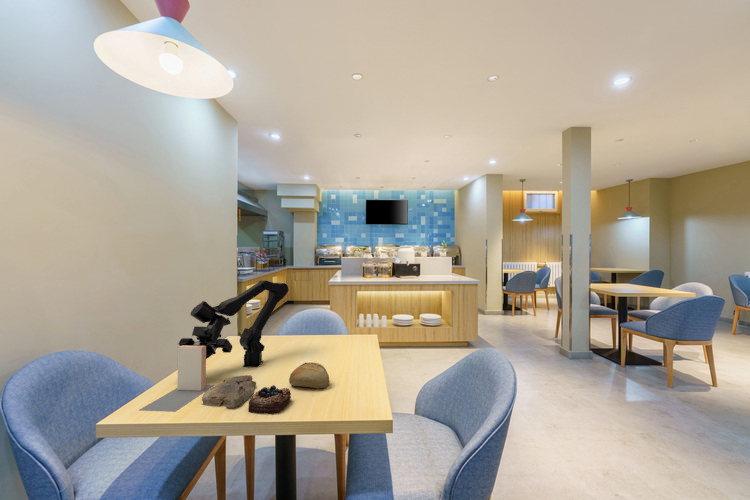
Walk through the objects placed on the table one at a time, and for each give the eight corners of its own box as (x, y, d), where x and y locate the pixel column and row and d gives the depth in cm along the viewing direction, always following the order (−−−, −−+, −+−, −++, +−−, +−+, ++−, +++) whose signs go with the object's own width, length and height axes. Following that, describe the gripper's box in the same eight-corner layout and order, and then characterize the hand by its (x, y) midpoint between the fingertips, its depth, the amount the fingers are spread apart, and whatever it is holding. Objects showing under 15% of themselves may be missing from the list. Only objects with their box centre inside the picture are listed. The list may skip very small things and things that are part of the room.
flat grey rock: (231, 383, 119) (194, 407, 99) (232, 370, 119) (195, 391, 99) (267, 386, 117) (236, 410, 97) (267, 372, 117) (237, 394, 98)
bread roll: (294, 380, 121) (294, 359, 121) (332, 381, 119) (332, 360, 120) (284, 390, 112) (284, 367, 112) (326, 392, 110) (326, 369, 110)
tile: (181, 387, 113) (182, 345, 114) (205, 388, 112) (206, 345, 113) (177, 390, 111) (177, 347, 111) (201, 391, 110) (201, 347, 110)
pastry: (280, 416, 94) (280, 396, 94) (242, 413, 95) (242, 394, 96) (294, 399, 105) (294, 381, 105) (260, 397, 106) (260, 380, 106)
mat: (183, 385, 116) (183, 384, 116) (214, 386, 115) (214, 385, 115) (138, 411, 96) (138, 410, 96) (175, 413, 95) (175, 411, 95)
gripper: (182, 316, 121) (159, 354, 109) (228, 317, 119) (210, 355, 108) (195, 332, 128) (175, 369, 117) (239, 333, 127) (223, 371, 115)
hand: (195, 366), depth 114 cm, fingers closed
